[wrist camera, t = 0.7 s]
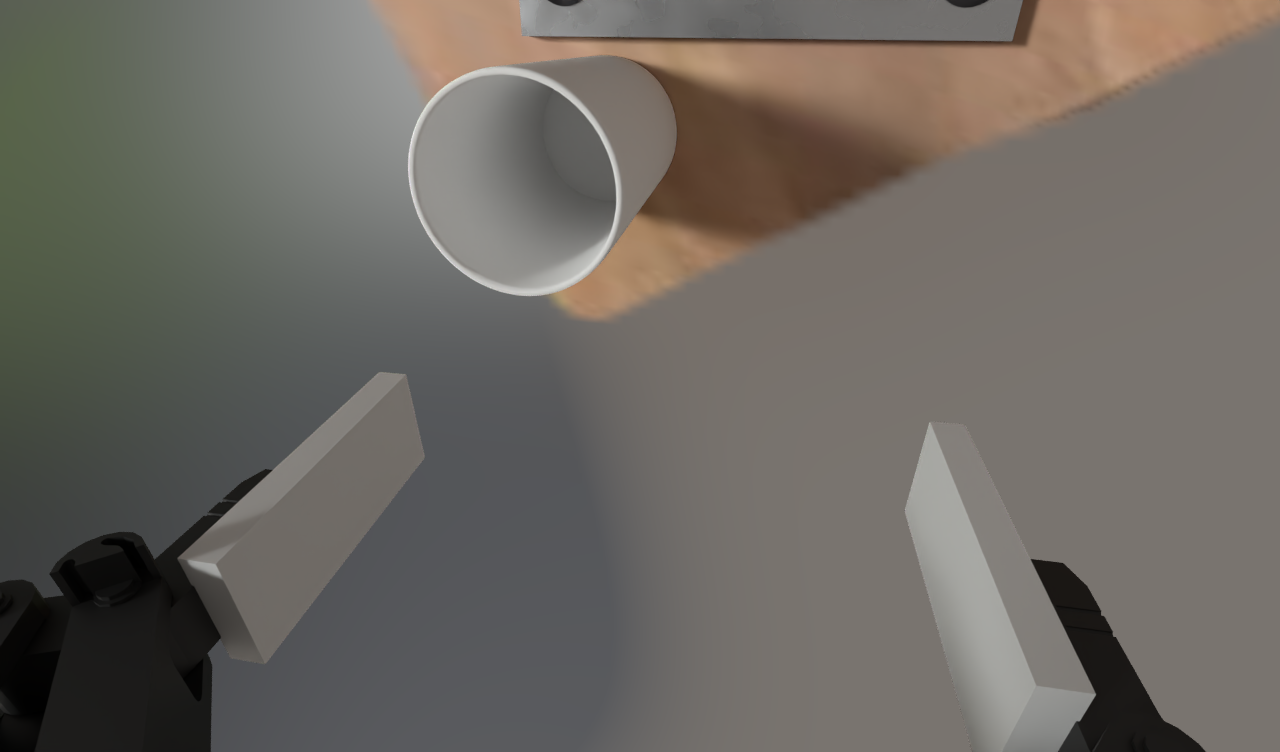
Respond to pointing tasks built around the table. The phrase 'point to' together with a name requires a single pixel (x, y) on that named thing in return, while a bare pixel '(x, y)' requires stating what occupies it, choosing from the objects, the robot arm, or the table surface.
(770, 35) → the bolt strip
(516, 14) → the table surface
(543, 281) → the cup
